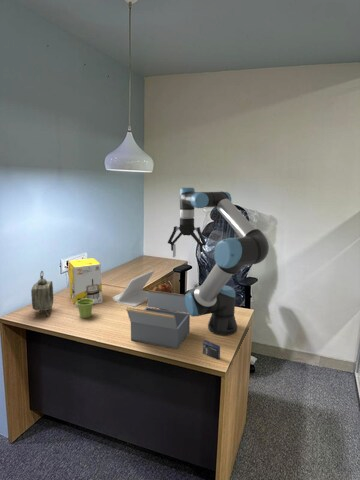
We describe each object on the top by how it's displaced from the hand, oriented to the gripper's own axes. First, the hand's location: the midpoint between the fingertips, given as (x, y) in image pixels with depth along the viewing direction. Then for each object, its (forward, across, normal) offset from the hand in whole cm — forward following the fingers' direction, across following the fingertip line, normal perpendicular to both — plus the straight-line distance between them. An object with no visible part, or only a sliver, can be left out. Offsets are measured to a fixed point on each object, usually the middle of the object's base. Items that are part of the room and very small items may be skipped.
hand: (186, 257), depth 176 cm
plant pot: (+36, +56, +8) cm, 67 cm away
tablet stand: (+36, +40, -26) cm, 60 cm away
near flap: (+22, +9, +31) cm, 39 cm away
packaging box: (+36, +68, -13) cm, 78 cm away
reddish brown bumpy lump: (+36, +18, -12) cm, 42 cm away
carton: (+36, +8, +20) cm, 42 cm away
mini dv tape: (+37, -19, +32) cm, 52 cm away
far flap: (+22, +7, +10) cm, 25 cm away
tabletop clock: (+36, +82, +10) cm, 90 cm away
